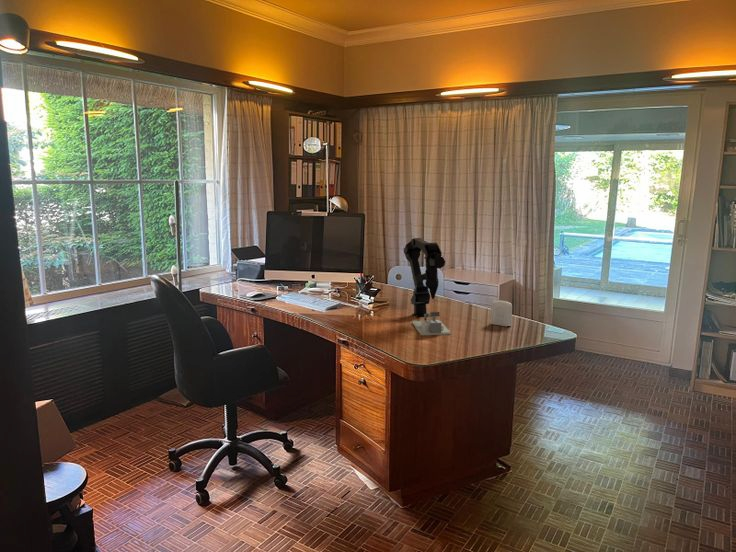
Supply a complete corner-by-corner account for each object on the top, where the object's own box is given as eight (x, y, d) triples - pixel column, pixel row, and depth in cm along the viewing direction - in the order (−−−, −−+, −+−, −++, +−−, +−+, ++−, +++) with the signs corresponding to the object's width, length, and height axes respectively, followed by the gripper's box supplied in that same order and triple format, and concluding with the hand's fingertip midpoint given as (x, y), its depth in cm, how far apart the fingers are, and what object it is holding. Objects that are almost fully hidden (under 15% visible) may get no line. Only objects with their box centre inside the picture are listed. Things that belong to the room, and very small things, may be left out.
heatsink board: (412, 323, 270) (412, 310, 268) (439, 322, 271) (439, 309, 270) (421, 335, 248) (421, 322, 247) (450, 334, 249) (450, 321, 248)
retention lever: (425, 314, 262) (430, 312, 249) (433, 313, 262) (439, 311, 249) (425, 318, 262) (431, 316, 248) (433, 317, 262) (439, 316, 249)
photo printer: (512, 325, 263) (513, 300, 261) (509, 327, 260) (510, 302, 257) (492, 322, 269) (493, 298, 267) (489, 324, 265) (490, 300, 263)
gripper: (416, 267, 278) (417, 297, 278) (414, 269, 259) (415, 301, 260) (437, 266, 276) (439, 296, 277) (437, 268, 258) (439, 300, 258)
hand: (432, 298), depth 268 cm, fingers closed
